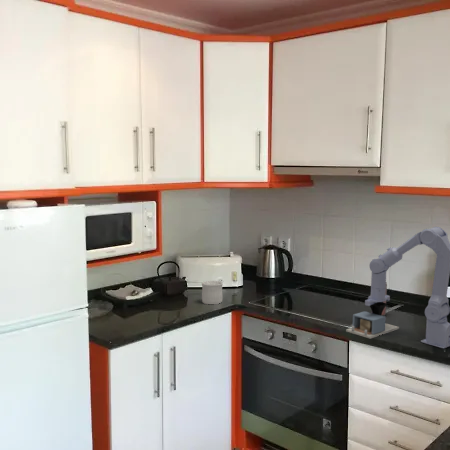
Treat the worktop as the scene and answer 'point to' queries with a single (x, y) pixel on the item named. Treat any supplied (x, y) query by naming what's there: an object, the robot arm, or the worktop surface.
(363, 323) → the birch block
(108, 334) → the worktop surface
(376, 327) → the housing
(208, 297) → the cup
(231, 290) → the worktop surface
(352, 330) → the base plate
